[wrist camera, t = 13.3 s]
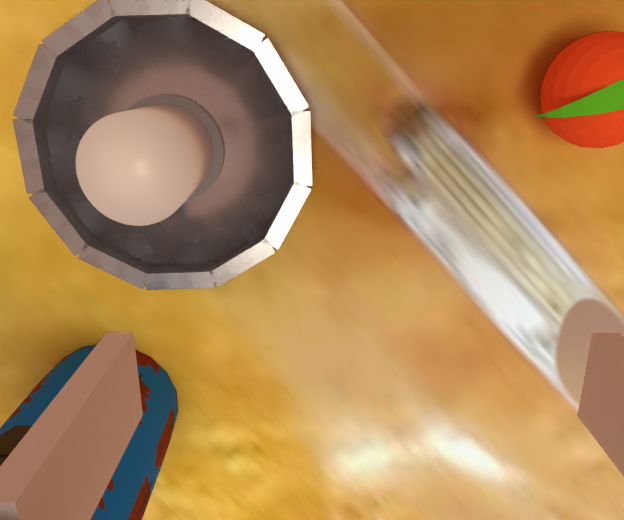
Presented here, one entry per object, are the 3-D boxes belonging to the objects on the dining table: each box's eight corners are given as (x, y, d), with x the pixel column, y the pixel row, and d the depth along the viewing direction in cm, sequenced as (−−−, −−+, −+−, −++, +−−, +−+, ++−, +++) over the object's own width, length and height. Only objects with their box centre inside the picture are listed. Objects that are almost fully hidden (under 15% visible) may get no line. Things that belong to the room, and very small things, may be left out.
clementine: (520, 160, 39) (565, 178, 33) (497, 61, 37) (541, 58, 30) (633, 122, 39) (703, 132, 32) (617, 19, 36) (688, 6, 30)
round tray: (9, 2, 36) (-11, -3, 33) (306, -6, 36) (306, -12, 33) (60, 280, 42) (45, 292, 39) (314, 273, 42) (315, 284, 39)
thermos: (93, 315, 43) (-171, 618, 19) (206, 392, 45) (98, 750, 21) (19, 410, 45) (-296, 783, 21) (130, 479, 47) (-43, 885, 24)
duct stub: (125, 202, 39) (75, 238, 30) (111, 95, 37) (52, 101, 28) (228, 199, 39) (207, 234, 30) (220, 92, 37) (195, 97, 28)
